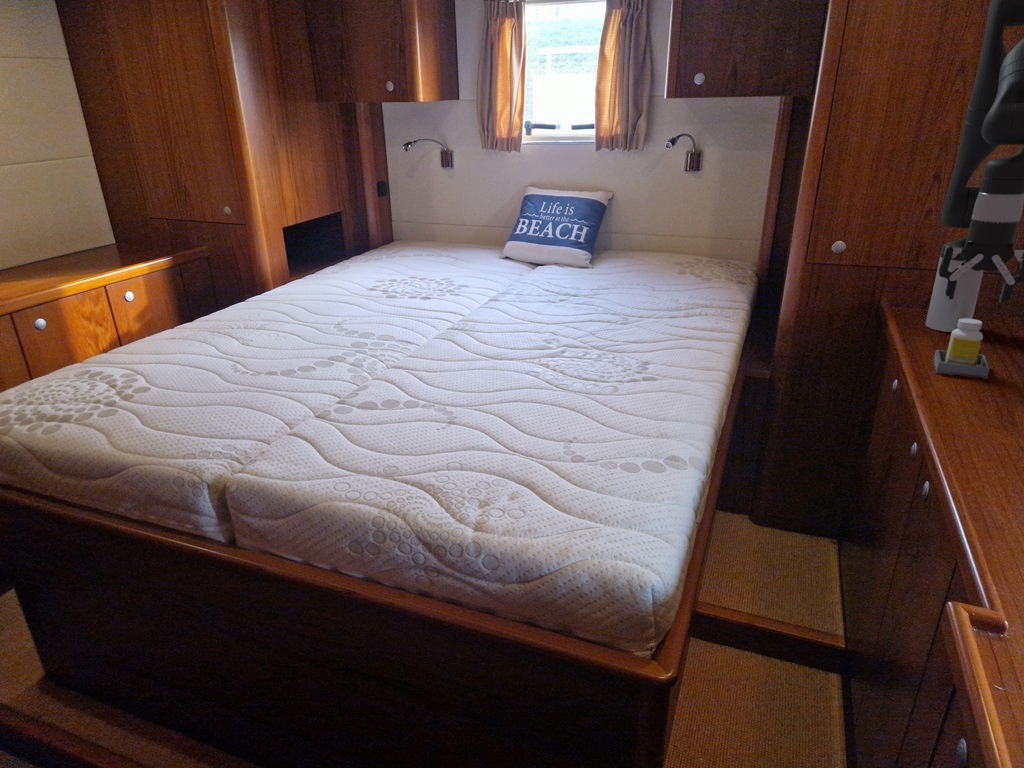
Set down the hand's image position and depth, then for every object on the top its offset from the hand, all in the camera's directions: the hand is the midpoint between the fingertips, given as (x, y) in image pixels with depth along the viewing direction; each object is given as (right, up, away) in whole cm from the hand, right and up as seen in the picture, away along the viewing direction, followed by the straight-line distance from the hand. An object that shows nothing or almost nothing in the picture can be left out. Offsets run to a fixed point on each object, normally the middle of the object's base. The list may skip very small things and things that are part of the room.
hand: (975, 300), depth 131 cm
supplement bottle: (0, -13, +5) cm, 14 cm away
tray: (0, -14, +5) cm, 15 cm away
